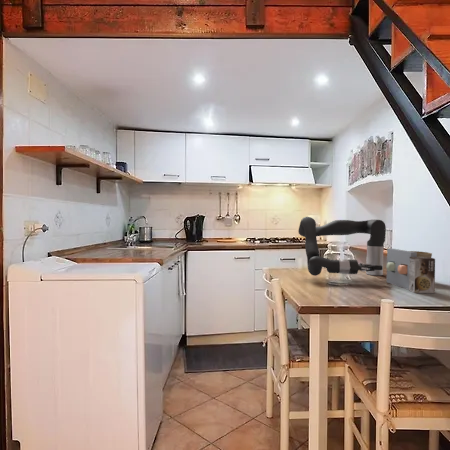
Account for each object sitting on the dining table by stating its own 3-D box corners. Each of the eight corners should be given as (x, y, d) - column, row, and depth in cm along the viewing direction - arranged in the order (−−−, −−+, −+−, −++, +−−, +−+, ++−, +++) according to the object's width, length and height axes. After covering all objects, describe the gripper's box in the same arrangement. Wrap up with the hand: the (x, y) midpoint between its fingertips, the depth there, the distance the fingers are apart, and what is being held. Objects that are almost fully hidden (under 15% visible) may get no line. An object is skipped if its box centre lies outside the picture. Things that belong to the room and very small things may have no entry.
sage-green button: (386, 270, 183) (386, 261, 183) (398, 270, 184) (399, 261, 184) (391, 271, 179) (391, 263, 179) (403, 271, 180) (404, 263, 180)
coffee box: (428, 290, 166) (429, 256, 165) (435, 293, 159) (436, 258, 159) (408, 290, 167) (409, 256, 166) (414, 293, 160) (415, 257, 160)
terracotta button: (397, 273, 174) (397, 264, 173) (410, 273, 174) (411, 264, 174) (402, 274, 169) (403, 265, 169) (416, 274, 170) (416, 265, 170)
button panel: (386, 282, 187) (387, 248, 186) (391, 282, 187) (392, 248, 186) (409, 290, 167) (410, 252, 166) (415, 289, 167) (416, 252, 167)
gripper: (344, 271, 190) (377, 272, 188) (350, 276, 177) (386, 277, 175) (344, 258, 189) (378, 258, 187) (350, 261, 176) (386, 262, 174)
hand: (382, 267), depth 181 cm, fingers closed
